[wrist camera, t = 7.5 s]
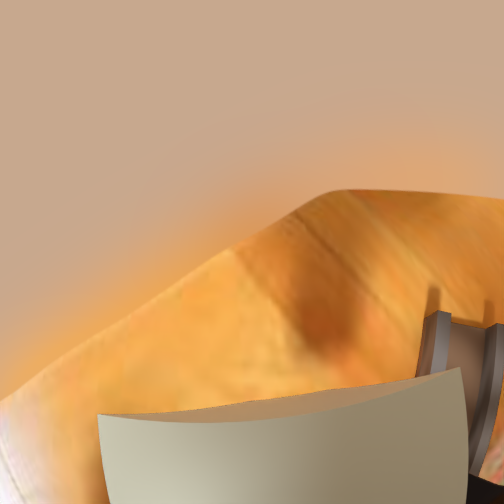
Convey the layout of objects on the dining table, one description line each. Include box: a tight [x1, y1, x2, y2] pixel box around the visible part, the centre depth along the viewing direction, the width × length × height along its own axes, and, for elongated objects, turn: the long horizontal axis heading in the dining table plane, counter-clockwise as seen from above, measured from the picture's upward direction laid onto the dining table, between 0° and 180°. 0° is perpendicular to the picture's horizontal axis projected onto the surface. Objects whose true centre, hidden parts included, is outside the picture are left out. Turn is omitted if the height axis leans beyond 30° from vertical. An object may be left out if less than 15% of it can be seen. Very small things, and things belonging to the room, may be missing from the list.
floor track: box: [415, 310, 504, 477], centre depth 15 cm, size 16×9×3 cm, turn 162°
